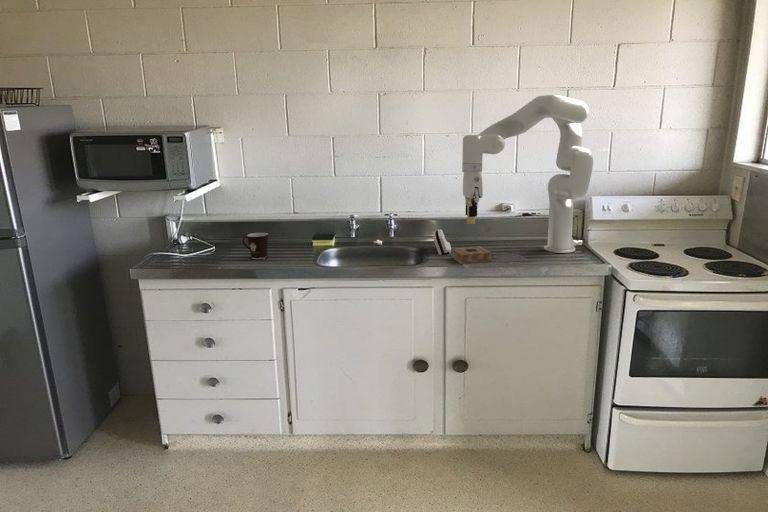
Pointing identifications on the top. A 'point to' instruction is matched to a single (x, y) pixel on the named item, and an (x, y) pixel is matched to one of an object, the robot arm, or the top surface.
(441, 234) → the white plastic device case
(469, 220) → the peg
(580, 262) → the top surface
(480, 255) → the hole block
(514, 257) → the mat
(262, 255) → the coffee mug
